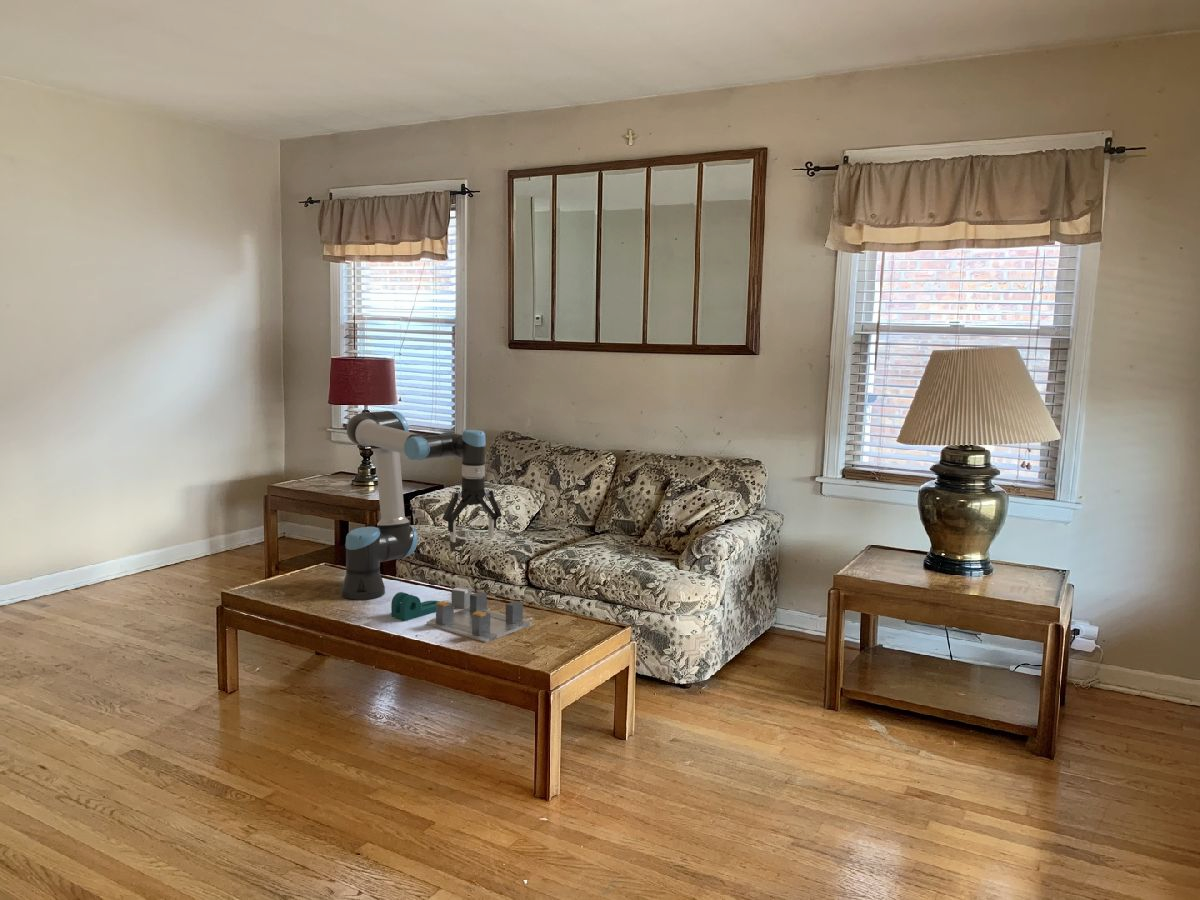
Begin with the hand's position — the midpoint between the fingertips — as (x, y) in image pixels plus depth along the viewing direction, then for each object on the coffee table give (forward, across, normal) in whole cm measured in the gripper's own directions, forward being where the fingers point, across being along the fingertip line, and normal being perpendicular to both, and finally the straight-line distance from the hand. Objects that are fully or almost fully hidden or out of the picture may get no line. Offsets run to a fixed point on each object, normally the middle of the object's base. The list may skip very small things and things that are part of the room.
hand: (472, 539), depth 306 cm
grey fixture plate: (+25, -2, -13) cm, 28 cm away
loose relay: (+25, 0, +8) cm, 27 cm away
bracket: (+26, -16, +7) cm, 31 cm away
